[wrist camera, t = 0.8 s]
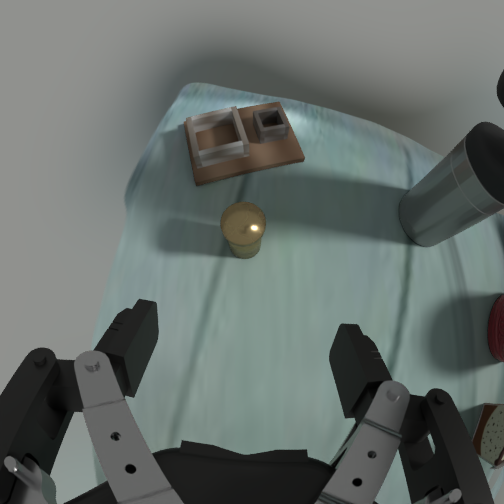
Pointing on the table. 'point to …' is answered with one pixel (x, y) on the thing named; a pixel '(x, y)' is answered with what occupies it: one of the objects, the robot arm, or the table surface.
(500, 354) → the canister
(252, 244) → the gold round-topped cylinder
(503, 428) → the food container
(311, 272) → the table surface
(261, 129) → the collar base
